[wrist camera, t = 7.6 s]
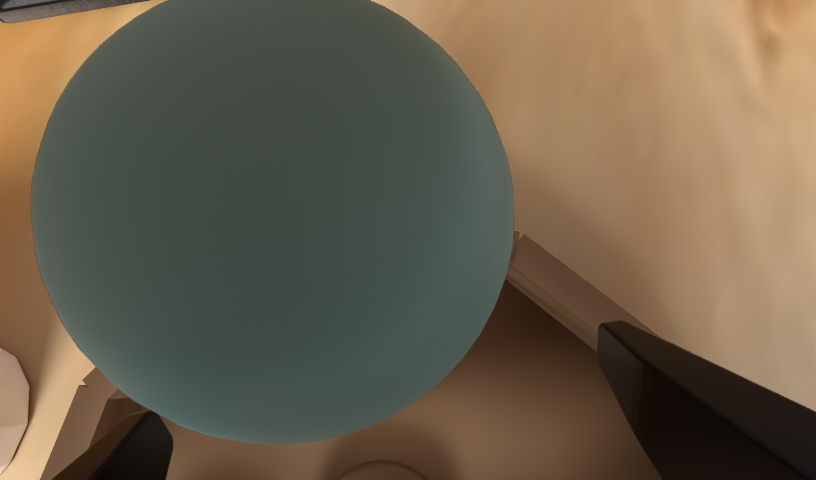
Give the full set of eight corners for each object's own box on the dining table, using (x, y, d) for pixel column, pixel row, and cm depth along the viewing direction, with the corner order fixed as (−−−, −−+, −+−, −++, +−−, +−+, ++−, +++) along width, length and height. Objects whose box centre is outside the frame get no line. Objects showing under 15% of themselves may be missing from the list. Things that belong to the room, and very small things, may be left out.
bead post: (488, 335, 16) (852, 107, 2) (388, 426, 15) (-59, 996, 1) (404, 242, 17) (292, -273, 3) (309, 321, 17) (-332, 67, 3)
